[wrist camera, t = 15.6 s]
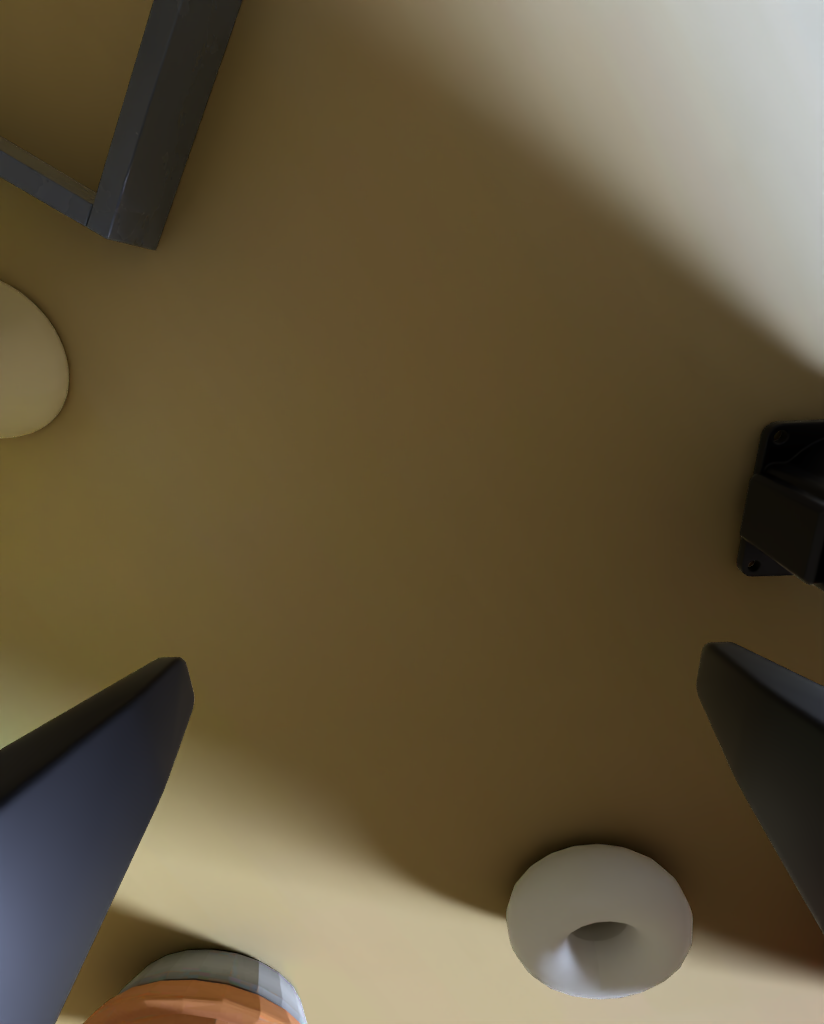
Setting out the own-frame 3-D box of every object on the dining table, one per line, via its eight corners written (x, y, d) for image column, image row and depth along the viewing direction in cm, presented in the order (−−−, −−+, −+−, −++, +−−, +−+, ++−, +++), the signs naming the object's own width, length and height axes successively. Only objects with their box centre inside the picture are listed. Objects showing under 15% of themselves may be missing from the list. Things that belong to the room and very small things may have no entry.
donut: (659, 810, 28) (481, 850, 29) (691, 875, 24) (489, 917, 26) (686, 926, 31) (525, 957, 32) (717, 996, 28) (537, 1028, 29)
